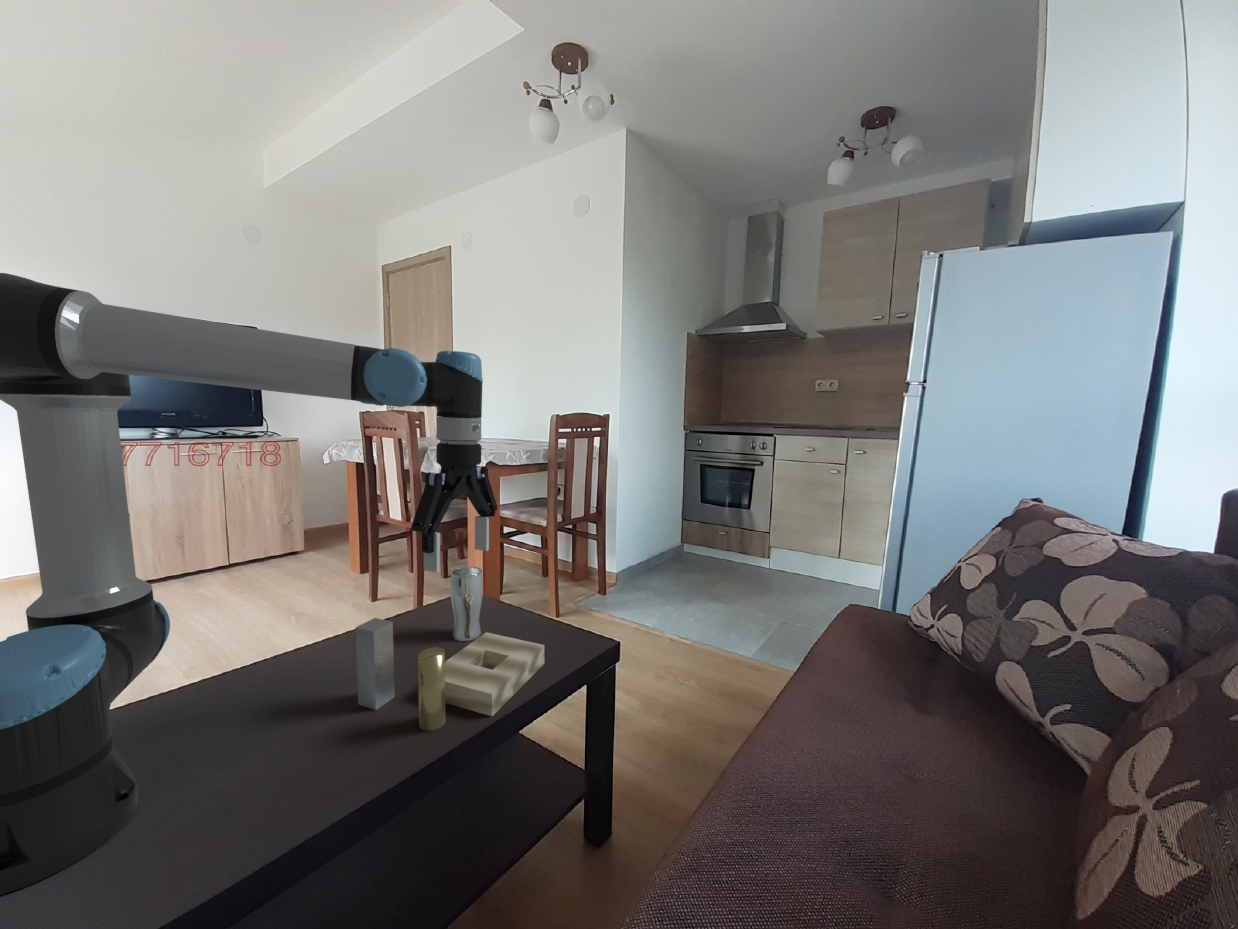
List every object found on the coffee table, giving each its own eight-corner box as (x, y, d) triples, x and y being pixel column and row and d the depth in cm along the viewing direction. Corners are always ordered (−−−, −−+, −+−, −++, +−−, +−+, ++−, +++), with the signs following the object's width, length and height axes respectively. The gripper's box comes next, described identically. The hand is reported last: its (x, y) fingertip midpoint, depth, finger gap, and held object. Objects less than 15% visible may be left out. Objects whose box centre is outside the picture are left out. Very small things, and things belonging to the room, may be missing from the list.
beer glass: (449, 631, 109) (448, 568, 107) (480, 626, 112) (480, 564, 110) (452, 644, 102) (451, 578, 101) (485, 639, 105) (485, 574, 104)
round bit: (433, 733, 74) (432, 662, 73) (413, 727, 76) (412, 656, 74) (450, 718, 78) (450, 650, 77) (431, 712, 80) (430, 645, 78)
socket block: (492, 716, 79) (492, 694, 79) (425, 697, 84) (424, 676, 83) (544, 663, 96) (544, 645, 95) (486, 650, 101) (486, 632, 100)
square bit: (376, 710, 80) (373, 631, 78) (358, 704, 81) (355, 627, 80) (394, 697, 84) (392, 621, 82) (377, 692, 85) (375, 617, 83)
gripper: (424, 447, 70) (425, 585, 72) (516, 440, 93) (514, 545, 95) (385, 444, 72) (387, 577, 75) (484, 438, 96) (483, 540, 98)
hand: (458, 559), depth 85 cm, fingers open, 13 cm apart
